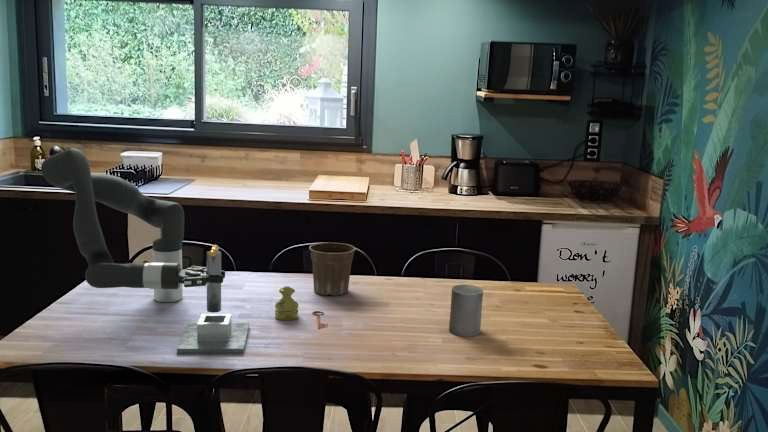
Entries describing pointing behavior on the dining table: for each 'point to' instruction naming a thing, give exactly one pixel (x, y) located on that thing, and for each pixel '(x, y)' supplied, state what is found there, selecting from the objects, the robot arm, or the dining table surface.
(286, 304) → the green scale weight
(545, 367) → the dining table surface
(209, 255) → the silver grey upright block
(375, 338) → the dining table surface
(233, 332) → the candle holder
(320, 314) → the key
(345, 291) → the plant pot
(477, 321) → the pillar candle
